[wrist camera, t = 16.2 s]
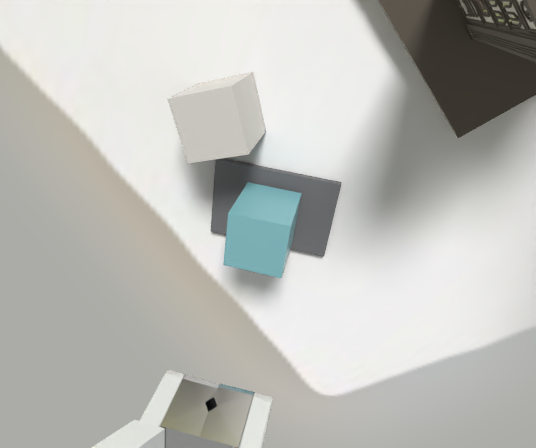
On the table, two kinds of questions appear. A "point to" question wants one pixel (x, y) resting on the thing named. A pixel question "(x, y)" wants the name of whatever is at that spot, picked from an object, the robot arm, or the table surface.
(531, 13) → the building model
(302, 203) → the stand
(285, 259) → the teal block
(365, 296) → the table surface
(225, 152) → the light grey block
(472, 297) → the table surface
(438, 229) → the table surface
